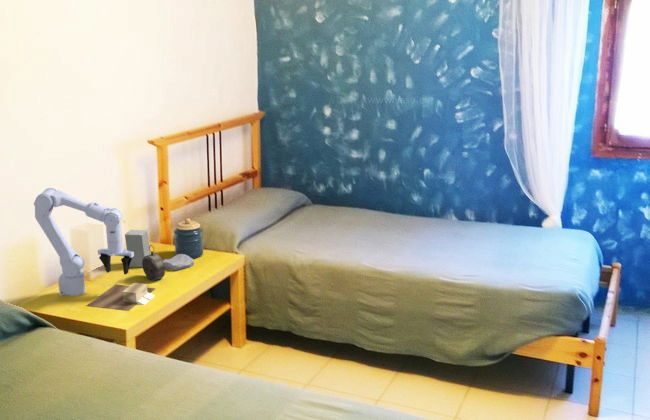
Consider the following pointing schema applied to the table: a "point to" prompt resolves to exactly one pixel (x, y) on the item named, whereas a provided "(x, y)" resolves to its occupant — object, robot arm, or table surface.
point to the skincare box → (137, 246)
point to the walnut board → (114, 299)
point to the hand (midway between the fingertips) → (117, 272)
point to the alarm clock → (153, 266)
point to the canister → (188, 239)
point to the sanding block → (134, 293)
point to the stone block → (178, 262)
